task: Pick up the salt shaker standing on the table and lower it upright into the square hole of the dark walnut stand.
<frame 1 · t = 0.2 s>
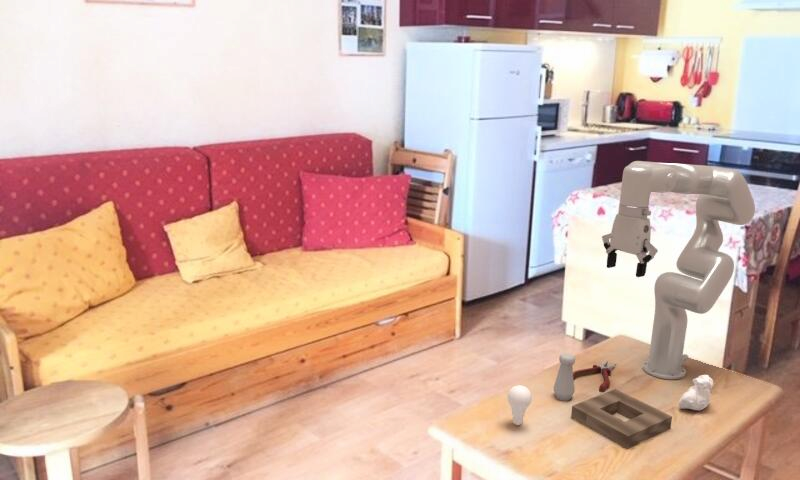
hand: (625, 271, 189), 36 cm above the table, tool pointing down, fingers open, 9 cm apart
pliers: (601, 380, 206), on the table
walnut stand: (620, 422, 181), on the table
lightbulb: (517, 425, 178), on the table
bust: (695, 408, 190), on the table
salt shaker: (563, 397, 194), on the table
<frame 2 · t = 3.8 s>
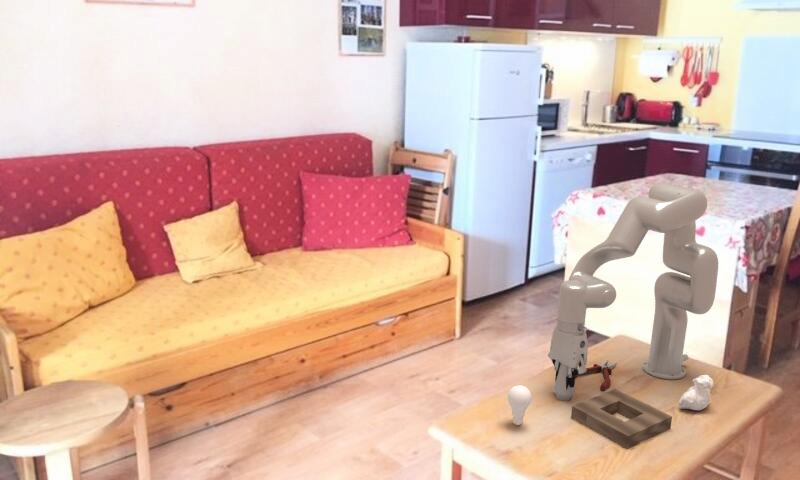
hand: (564, 385, 193), 4 cm above the table, tool pointing down, fingers closed on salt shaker, 3 cm apart
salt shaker: (563, 397, 194), on the table, touching gripper
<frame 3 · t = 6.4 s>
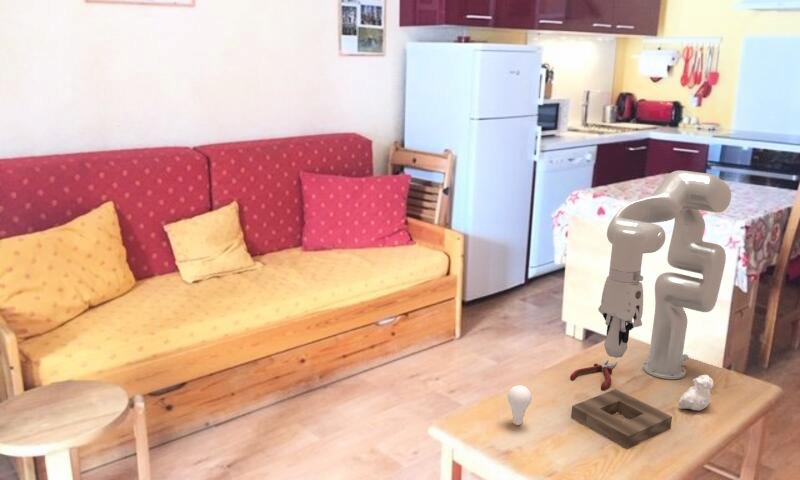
hand: (616, 341, 178), 22 cm above the table, tool pointing down, fingers closed on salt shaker, 3 cm apart
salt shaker: (614, 355, 179), point 18 cm above the table, touching gripper
when the fingers open (5 cm above the table, at t = 9.4 s): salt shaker stays where it is, resting in walnut stand.
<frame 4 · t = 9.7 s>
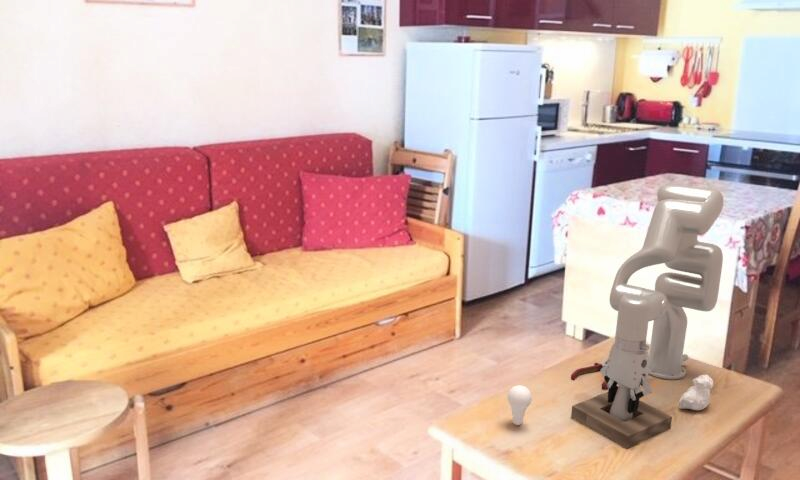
hand: (622, 405, 179), 5 cm above the table, tool pointing down, fingers open, 5 cm apart
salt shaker: (619, 423, 181), resting in walnut stand
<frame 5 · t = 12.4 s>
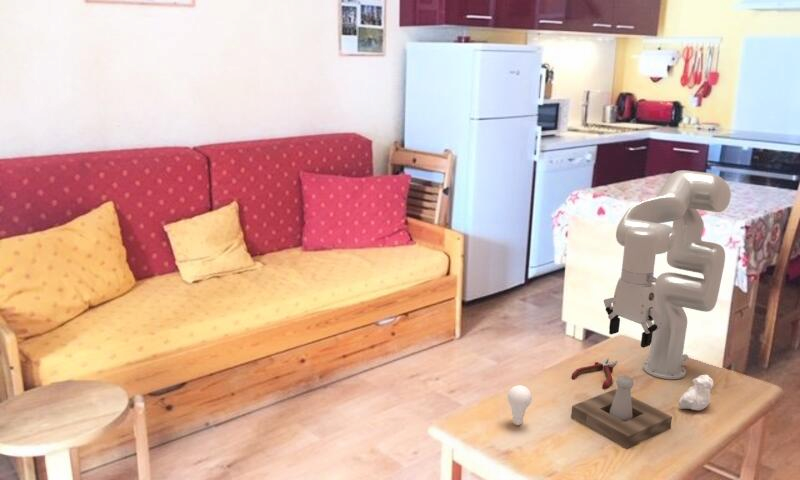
hand: (629, 339, 176), 23 cm above the table, tool pointing down, fingers open, 9 cm apart
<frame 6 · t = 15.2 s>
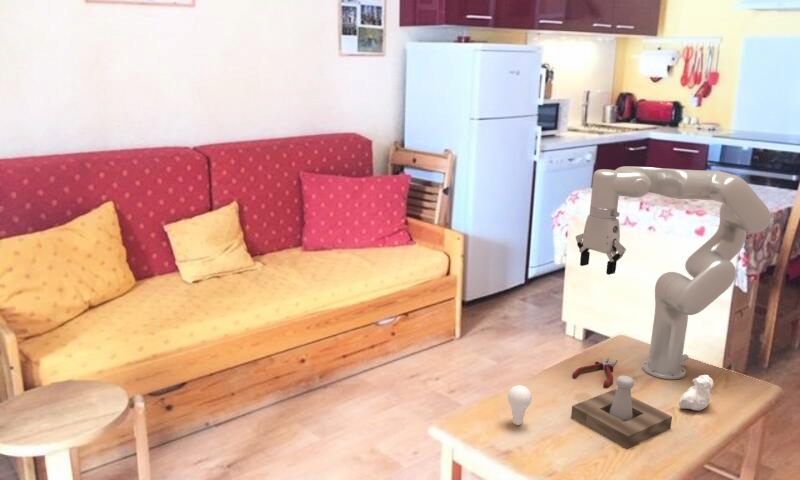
hand: (597, 269, 201), 33 cm above the table, tool pointing down, fingers open, 9 cm apart
at the end: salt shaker 0.3 cm off-centre on the walnut stand, point 0.0 cm above the walnut stand's base; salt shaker tilted 0°; the gripper is holding nothing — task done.
